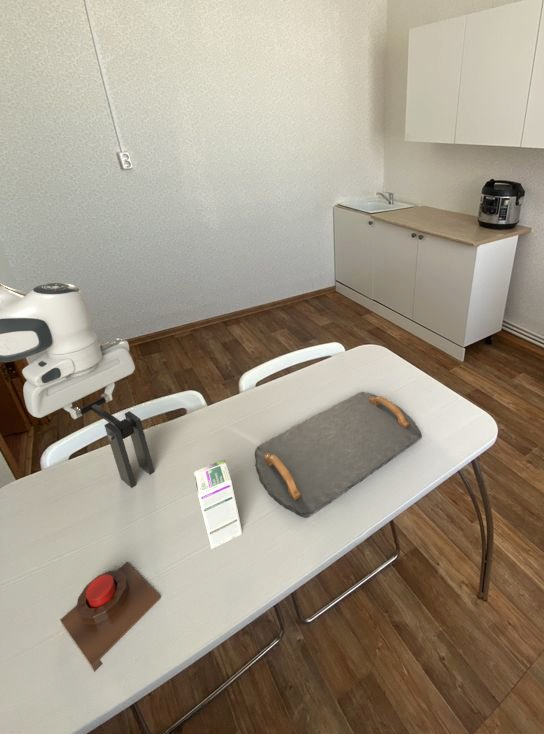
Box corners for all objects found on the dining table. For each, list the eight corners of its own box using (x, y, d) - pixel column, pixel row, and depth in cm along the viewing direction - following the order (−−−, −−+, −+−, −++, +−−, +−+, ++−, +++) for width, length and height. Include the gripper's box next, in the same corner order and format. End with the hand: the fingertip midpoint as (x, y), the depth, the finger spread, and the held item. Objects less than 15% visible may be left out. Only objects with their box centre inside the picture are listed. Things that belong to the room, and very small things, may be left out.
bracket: (108, 482, 83) (89, 424, 78) (144, 458, 89) (129, 402, 84) (132, 504, 78) (114, 443, 73) (169, 476, 84) (154, 419, 79)
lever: (79, 415, 85) (76, 406, 84) (103, 403, 89) (101, 394, 88) (116, 443, 77) (113, 434, 76) (141, 428, 81) (138, 419, 80)
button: (84, 598, 59) (81, 590, 59) (108, 577, 62) (106, 569, 62) (95, 612, 58) (92, 605, 57) (120, 590, 60) (117, 582, 60)
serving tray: (293, 539, 71) (291, 515, 69) (242, 462, 88) (239, 441, 86) (431, 439, 94) (433, 418, 91) (370, 394, 110) (370, 375, 108)
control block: (62, 625, 59) (55, 611, 57) (128, 567, 67) (123, 553, 65) (94, 672, 53) (87, 657, 52) (162, 603, 61) (157, 589, 60)
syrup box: (244, 538, 71) (233, 479, 66) (210, 555, 68) (197, 495, 63) (236, 514, 76) (226, 457, 71) (205, 528, 73) (192, 470, 68)
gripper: (119, 332, 91) (131, 380, 96) (11, 374, 75) (32, 430, 80) (133, 339, 88) (145, 389, 93) (24, 384, 72) (45, 442, 77)
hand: (92, 408), depth 86 cm, fingers closed on lever, 5 cm apart
